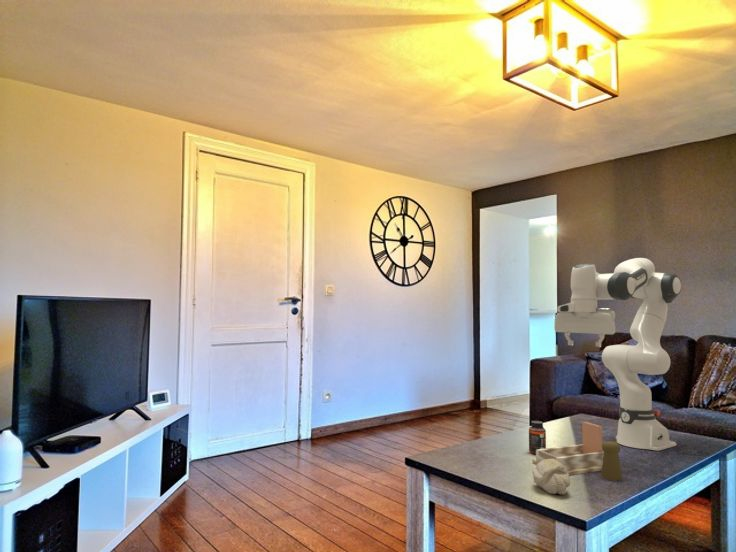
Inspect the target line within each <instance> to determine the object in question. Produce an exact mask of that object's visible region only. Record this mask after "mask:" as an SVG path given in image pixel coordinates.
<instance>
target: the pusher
mask: <svg viewBox="0 0 736 552" xmlns="http://www.w3.org/2000/svg"><path fill="white" fill-rule="evenodd" d="M581 425H582V426H581V429H582V430H581V432H582V435H581V436H582V437H581V438H582V444H583V454H586V453H594V452H602V451H603V449H602V443H603V442H604V441H603V440H604V439H603V426H602V425H598V424H594V423H591V422H588V421H582V422H581Z"/></svg>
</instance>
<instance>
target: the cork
mask: <svg viewBox="0 0 736 552" xmlns="http://www.w3.org/2000/svg"><path fill="white" fill-rule="evenodd" d="M602 449H603V451H604V455H603V464H602V471H600V472H601V473H600V477H601V476H602V477H603V479H604V478H605V479H606V480H607V479H608V480H609V481H613V480H617V482H618V480H620V481H622V480H623V476H622V469H621V464H620V457H619V453H620V452H621V445H620V444H619V443H617V441H610V440H605V441H603V443H602ZM602 477H601V478H602ZM608 480H607V481H608Z"/></svg>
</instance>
